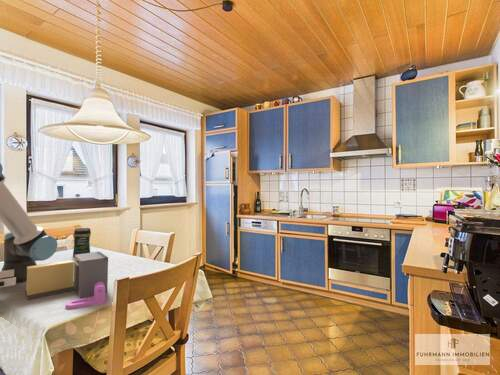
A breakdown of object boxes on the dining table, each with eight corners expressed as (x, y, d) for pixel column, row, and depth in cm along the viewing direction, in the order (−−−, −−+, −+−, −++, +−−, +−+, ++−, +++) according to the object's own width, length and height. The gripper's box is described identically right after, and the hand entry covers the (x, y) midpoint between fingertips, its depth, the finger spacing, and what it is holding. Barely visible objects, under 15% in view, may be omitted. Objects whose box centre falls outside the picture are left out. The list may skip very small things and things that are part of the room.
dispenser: (72, 288, 119) (72, 254, 119) (98, 283, 126) (99, 251, 126) (78, 298, 109) (79, 261, 109) (107, 292, 116) (108, 257, 116)
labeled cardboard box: (26, 292, 112) (27, 266, 112) (71, 284, 123) (72, 260, 123) (27, 295, 109) (27, 268, 109) (73, 286, 120) (74, 261, 120)
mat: (25, 291, 115) (25, 290, 115) (74, 282, 127) (74, 280, 127) (27, 300, 106) (27, 298, 106) (80, 289, 118) (80, 287, 118)
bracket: (104, 298, 110) (104, 281, 110) (105, 303, 105) (105, 285, 105) (66, 304, 103) (66, 286, 103) (64, 310, 98) (65, 291, 98)
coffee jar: (72, 258, 169) (72, 229, 169) (73, 255, 176) (74, 227, 176) (90, 257, 174) (90, 228, 174) (90, 254, 181) (91, 226, 181)
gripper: (-61, 290, 102) (13, 278, 117) (-73, 312, 84) (16, 295, 99) (-61, 270, 103) (13, 261, 117) (-73, 288, 84) (16, 274, 99)
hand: (15, 276), depth 108 cm, fingers open, 13 cm apart
